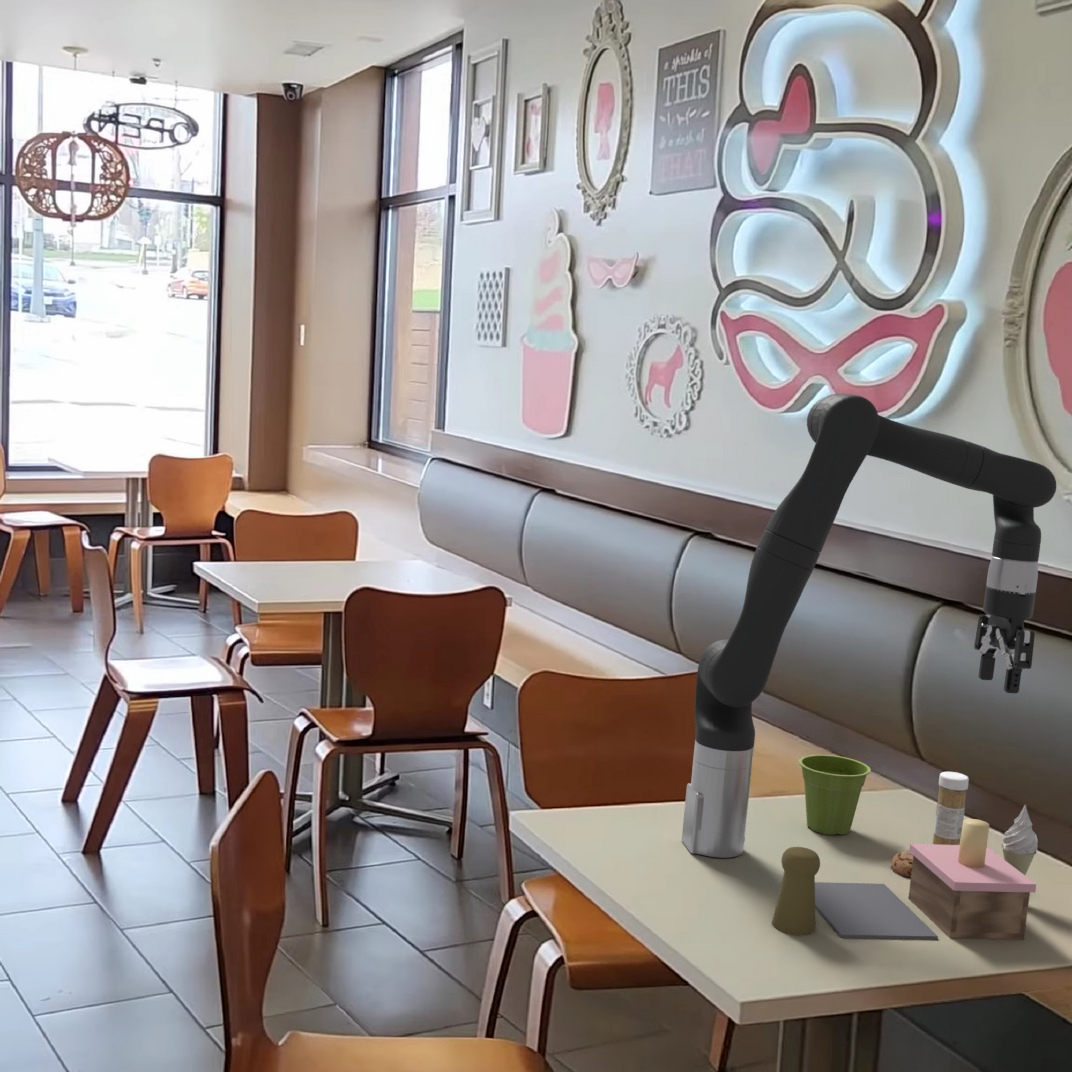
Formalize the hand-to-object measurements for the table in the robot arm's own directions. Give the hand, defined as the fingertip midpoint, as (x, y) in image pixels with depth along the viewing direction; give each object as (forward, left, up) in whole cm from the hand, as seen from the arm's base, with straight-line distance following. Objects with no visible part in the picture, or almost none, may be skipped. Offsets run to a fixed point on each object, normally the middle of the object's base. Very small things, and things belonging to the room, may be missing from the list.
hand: (997, 686), depth 222 cm
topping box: (-14, -25, -29) cm, 40 cm away
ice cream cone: (-3, -18, -29) cm, 34 cm away
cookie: (-12, -7, -29) cm, 32 cm away
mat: (-28, -23, -29) cm, 46 cm away
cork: (-41, -29, -29) cm, 58 cm away
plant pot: (-21, +12, -29) cm, 38 cm away
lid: (-14, -25, -23) cm, 36 cm away
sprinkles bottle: (-5, +1, -29) cm, 29 cm away
